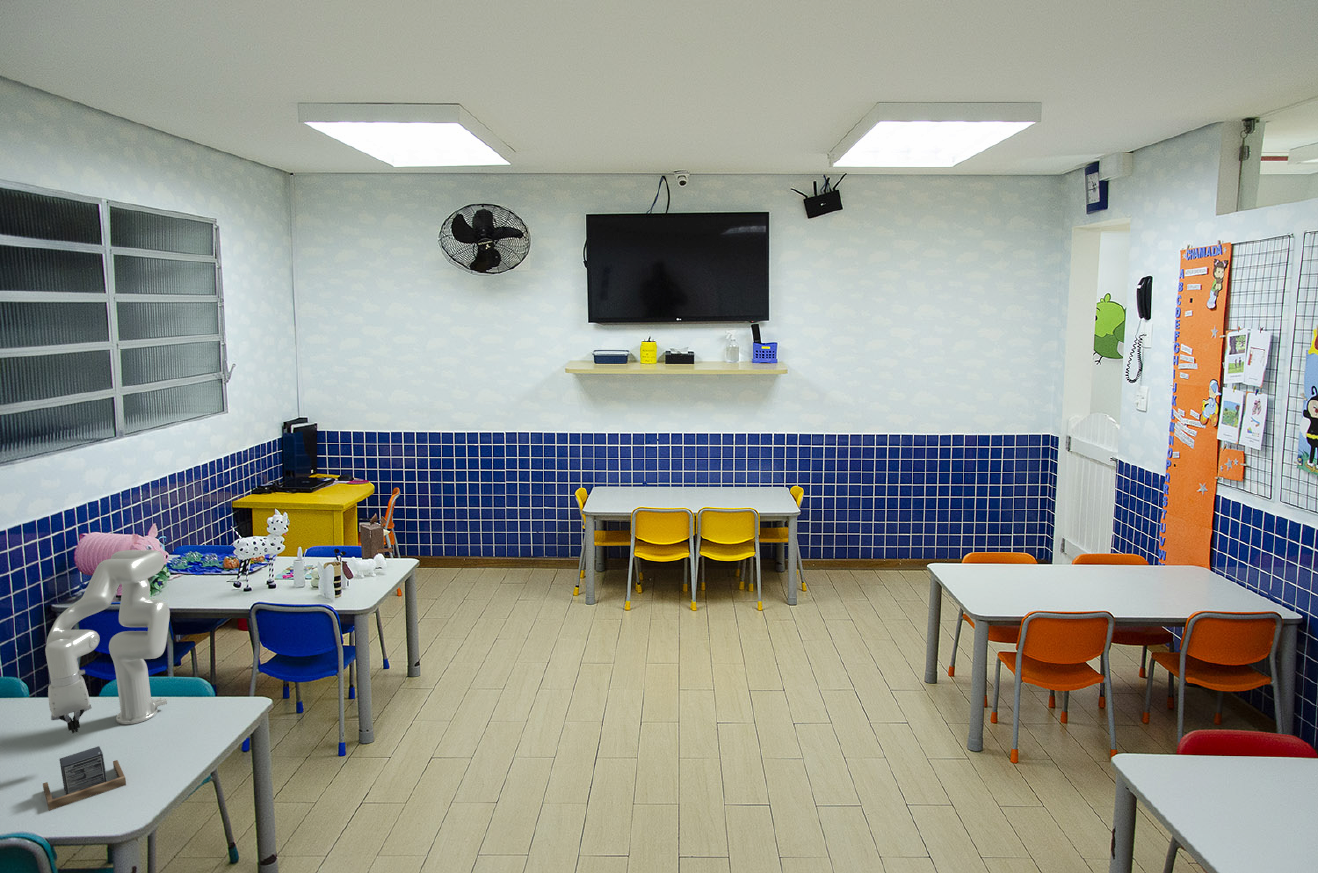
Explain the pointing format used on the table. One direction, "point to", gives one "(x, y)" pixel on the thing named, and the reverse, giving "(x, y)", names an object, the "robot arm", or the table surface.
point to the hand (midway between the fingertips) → (74, 731)
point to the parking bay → (85, 790)
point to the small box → (83, 770)
